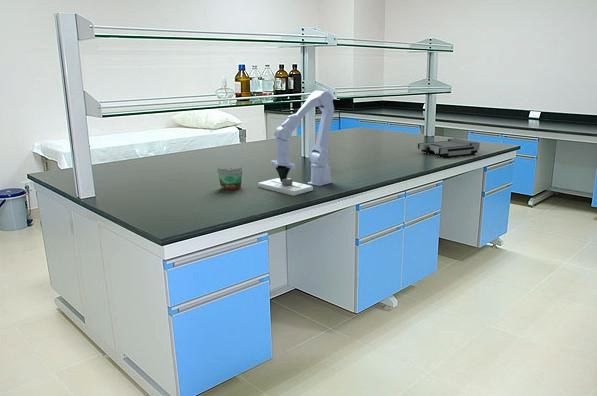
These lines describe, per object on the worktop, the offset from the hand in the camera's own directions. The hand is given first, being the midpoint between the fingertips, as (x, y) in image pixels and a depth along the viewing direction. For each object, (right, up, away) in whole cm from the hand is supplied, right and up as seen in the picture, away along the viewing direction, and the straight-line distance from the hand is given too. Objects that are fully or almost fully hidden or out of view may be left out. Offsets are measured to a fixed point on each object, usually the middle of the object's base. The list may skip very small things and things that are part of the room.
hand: (283, 181), depth 230 cm
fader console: (+1, -3, 0) cm, 3 cm away
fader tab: (+2, -1, -2) cm, 3 cm away
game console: (+103, +20, +85) cm, 134 cm away
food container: (-24, -4, -2) cm, 24 cm away
